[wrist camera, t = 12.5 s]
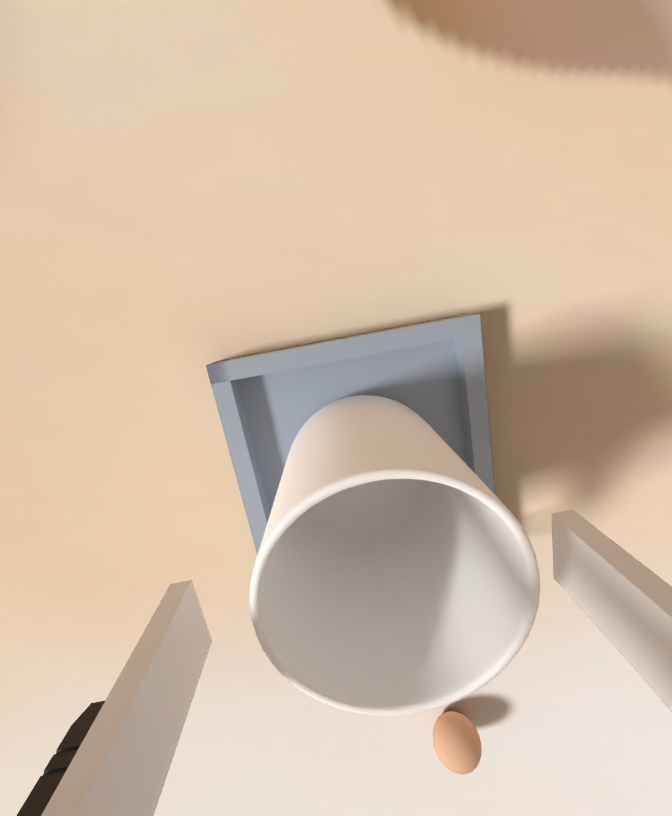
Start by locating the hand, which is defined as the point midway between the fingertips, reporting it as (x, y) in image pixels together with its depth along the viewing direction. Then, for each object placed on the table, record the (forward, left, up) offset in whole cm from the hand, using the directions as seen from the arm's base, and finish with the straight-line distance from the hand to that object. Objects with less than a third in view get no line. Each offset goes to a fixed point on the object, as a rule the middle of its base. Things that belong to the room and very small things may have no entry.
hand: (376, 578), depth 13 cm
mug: (+1, +1, -9) cm, 9 cm away
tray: (0, 0, -9) cm, 9 cm away
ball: (+20, +3, -9) cm, 23 cm away
